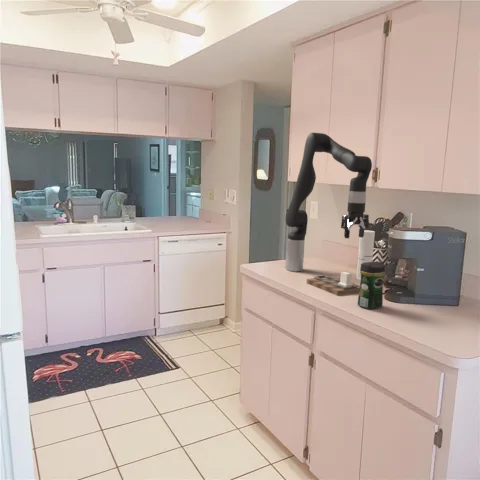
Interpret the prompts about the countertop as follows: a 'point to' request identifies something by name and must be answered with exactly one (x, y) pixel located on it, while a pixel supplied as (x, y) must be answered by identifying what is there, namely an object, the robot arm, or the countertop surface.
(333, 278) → the wooden board
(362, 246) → the cylindrical container
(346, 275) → the fader
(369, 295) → the coffee jar
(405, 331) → the countertop surface
